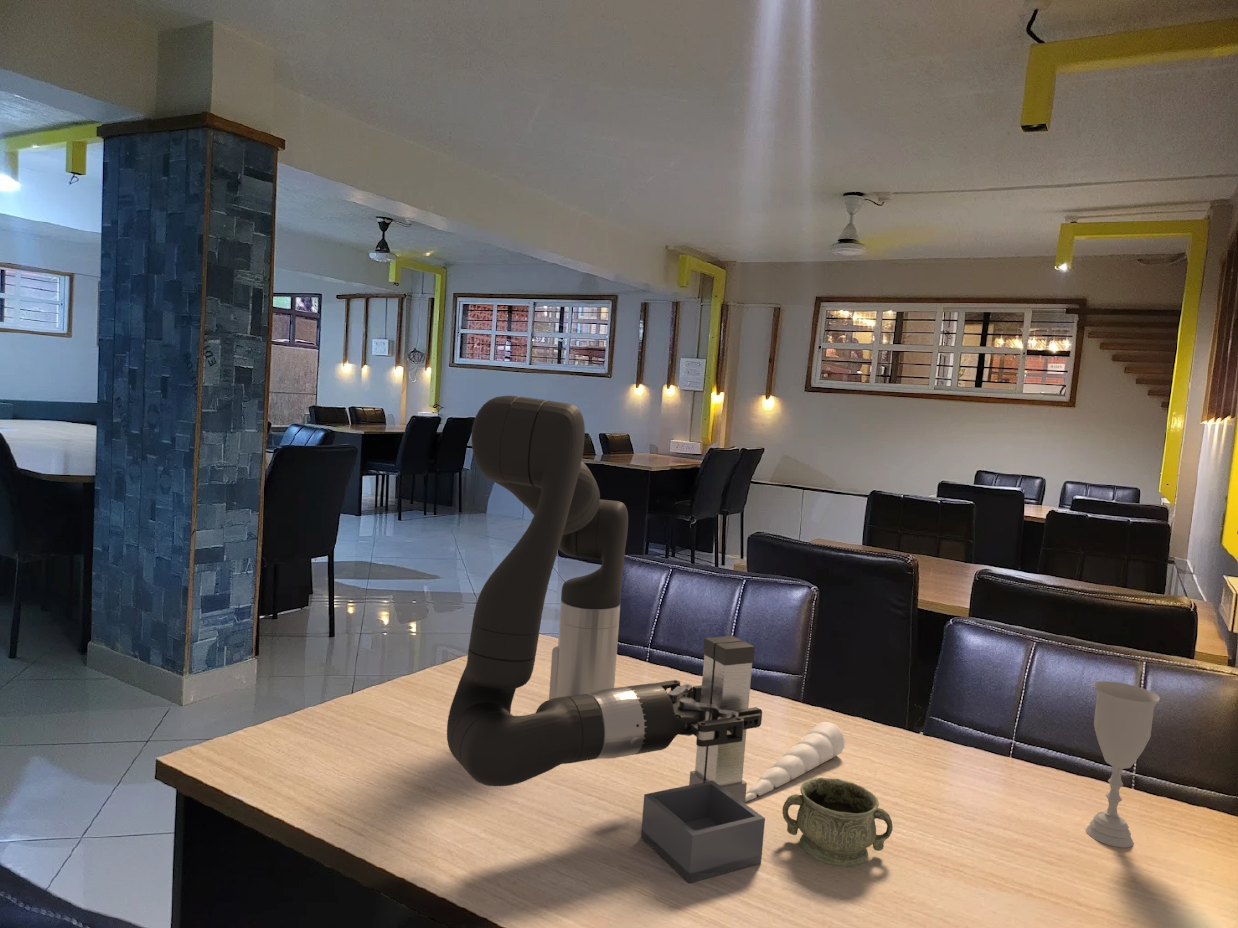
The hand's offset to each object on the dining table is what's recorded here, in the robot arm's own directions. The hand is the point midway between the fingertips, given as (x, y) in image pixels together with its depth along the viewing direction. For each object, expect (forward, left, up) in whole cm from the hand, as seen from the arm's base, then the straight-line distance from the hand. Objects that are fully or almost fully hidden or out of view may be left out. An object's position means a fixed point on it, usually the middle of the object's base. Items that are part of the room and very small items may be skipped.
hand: (737, 703), depth 101 cm
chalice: (+41, +20, -12) cm, 47 cm away
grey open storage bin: (+2, -14, -12) cm, 18 cm away
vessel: (+14, -4, -12) cm, 19 cm away
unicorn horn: (+4, +12, -13) cm, 18 cm away
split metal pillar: (-1, -2, -12) cm, 12 cm away
